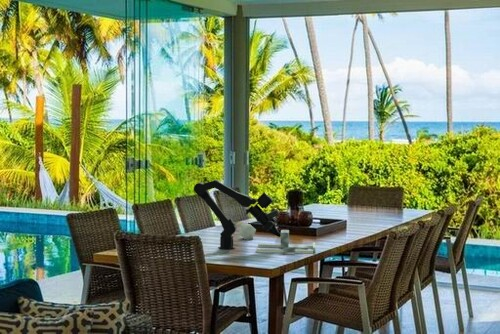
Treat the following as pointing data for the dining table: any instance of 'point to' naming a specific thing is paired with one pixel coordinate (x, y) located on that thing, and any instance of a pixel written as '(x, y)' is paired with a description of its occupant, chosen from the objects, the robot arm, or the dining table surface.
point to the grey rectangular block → (290, 247)
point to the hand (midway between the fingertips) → (280, 236)
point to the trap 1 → (288, 253)
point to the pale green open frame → (283, 249)
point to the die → (247, 231)
